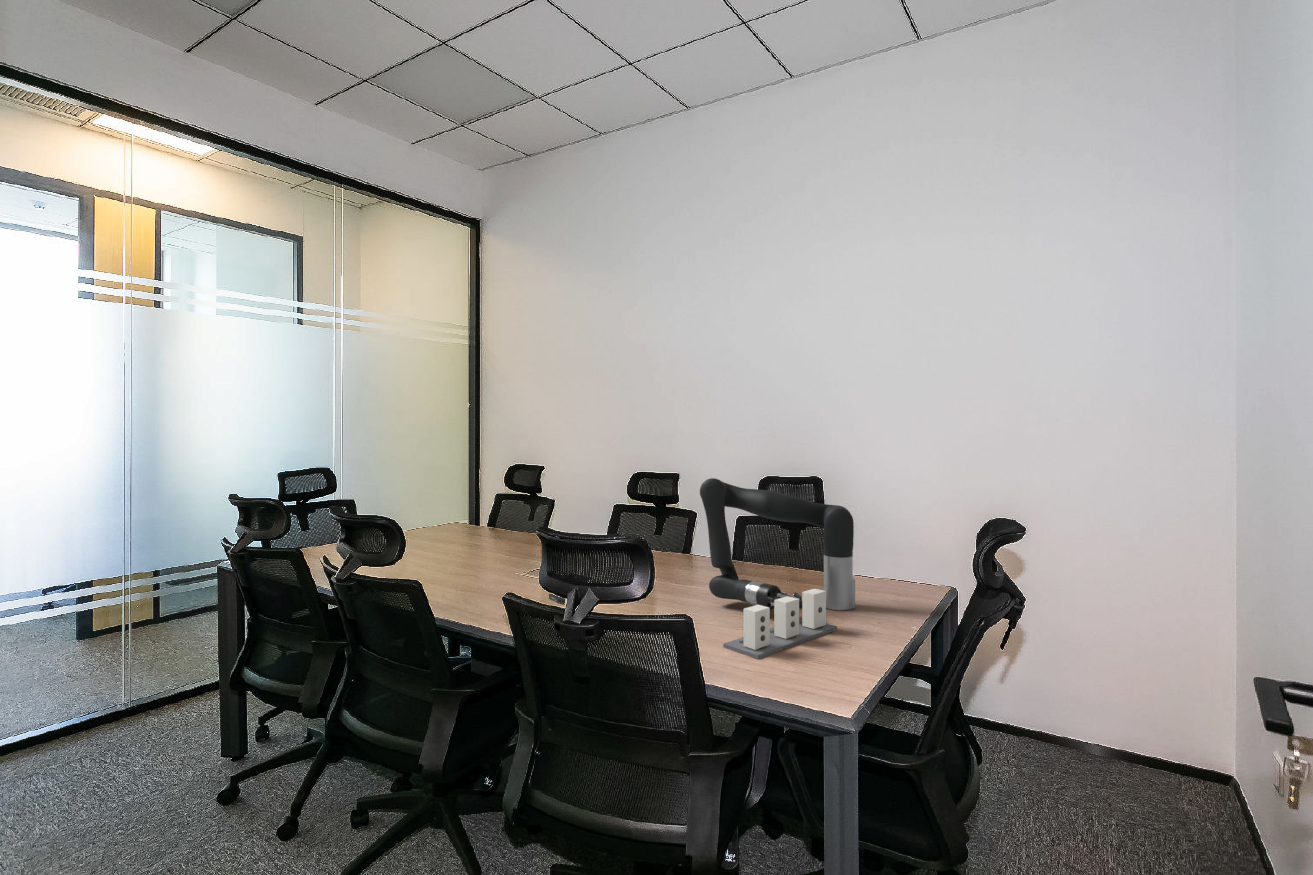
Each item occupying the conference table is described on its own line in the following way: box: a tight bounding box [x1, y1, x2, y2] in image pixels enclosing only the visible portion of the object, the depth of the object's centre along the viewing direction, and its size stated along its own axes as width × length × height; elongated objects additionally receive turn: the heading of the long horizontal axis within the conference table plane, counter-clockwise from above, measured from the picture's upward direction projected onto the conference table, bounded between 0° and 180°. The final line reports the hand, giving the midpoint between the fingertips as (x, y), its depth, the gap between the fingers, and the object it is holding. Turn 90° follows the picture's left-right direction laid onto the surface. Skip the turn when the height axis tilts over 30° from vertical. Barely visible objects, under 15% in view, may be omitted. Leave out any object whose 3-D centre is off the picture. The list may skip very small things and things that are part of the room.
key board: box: [723, 617, 838, 660], centre depth 185 cm, size 12×36×1 cm, turn 131°
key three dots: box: [742, 605, 771, 650], centre depth 175 cm, size 4×6×10 cm
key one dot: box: [801, 588, 827, 629], centre depth 192 cm, size 4×6×10 cm
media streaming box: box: [548, 593, 565, 606], centre depth 229 cm, size 15×15×3 cm
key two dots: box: [773, 596, 800, 639], centre depth 183 cm, size 4×6×10 cm
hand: (808, 606), depth 194 cm, fingers closed
